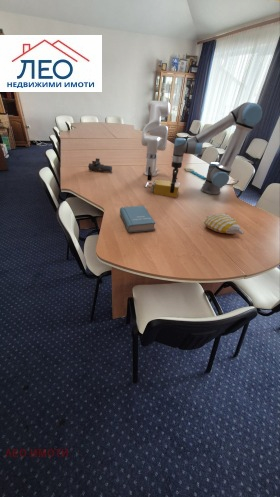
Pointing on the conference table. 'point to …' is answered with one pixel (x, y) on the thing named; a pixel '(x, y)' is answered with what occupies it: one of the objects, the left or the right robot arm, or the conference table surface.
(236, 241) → the conference table surface
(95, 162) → the laser sight
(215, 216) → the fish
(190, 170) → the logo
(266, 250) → the conference table surface
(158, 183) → the cabinet
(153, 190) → the drawer
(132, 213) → the book
